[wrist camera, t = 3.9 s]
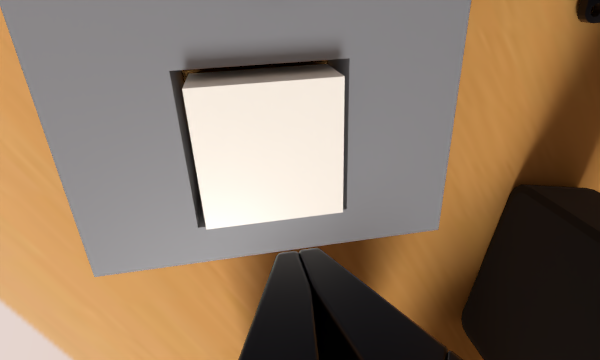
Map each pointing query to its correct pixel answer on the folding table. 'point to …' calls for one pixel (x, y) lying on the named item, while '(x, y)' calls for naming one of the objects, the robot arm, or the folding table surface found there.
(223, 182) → the ivory key
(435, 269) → the folding table surface
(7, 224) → the folding table surface
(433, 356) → the robot arm
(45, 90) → the key panel
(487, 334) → the electronic device
